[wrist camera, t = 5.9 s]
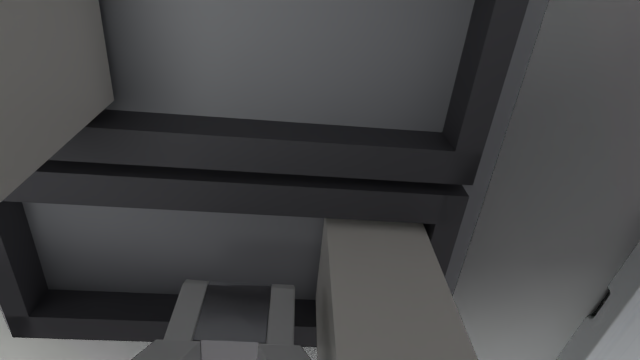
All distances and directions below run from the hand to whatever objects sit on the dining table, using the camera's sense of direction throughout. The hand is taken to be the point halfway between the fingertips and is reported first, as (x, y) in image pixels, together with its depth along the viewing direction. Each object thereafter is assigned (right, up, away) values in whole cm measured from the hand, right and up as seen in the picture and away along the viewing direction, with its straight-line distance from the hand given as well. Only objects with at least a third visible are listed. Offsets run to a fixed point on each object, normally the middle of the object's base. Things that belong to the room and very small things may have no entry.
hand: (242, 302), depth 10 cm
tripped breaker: (+3, +1, +2) cm, 4 cm away
